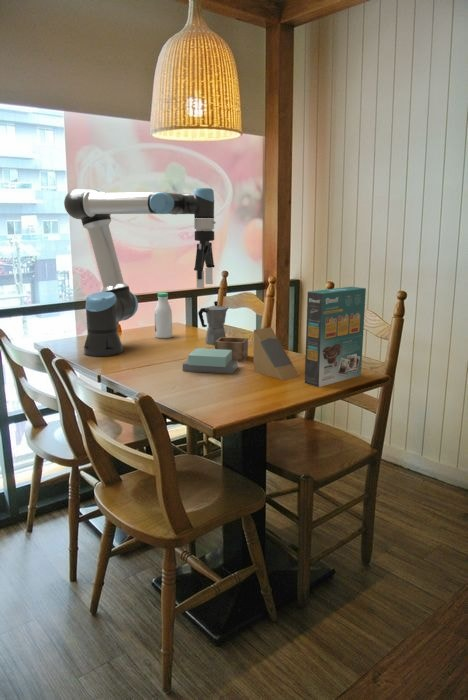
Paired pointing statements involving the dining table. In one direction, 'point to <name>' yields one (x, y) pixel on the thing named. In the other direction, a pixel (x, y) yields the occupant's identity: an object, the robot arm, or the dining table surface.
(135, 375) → the dining table surface
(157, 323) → the milk bottle
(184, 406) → the dining table surface
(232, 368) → the board
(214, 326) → the coffeepot
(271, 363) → the sandwich container
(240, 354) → the crate
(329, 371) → the cake mix box
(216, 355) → the lid
